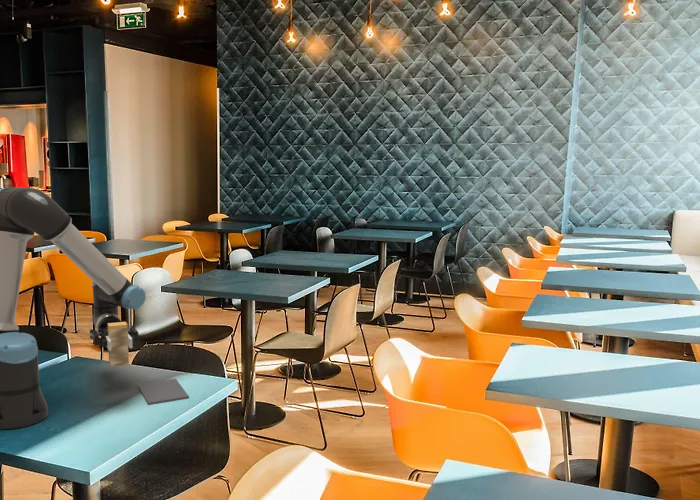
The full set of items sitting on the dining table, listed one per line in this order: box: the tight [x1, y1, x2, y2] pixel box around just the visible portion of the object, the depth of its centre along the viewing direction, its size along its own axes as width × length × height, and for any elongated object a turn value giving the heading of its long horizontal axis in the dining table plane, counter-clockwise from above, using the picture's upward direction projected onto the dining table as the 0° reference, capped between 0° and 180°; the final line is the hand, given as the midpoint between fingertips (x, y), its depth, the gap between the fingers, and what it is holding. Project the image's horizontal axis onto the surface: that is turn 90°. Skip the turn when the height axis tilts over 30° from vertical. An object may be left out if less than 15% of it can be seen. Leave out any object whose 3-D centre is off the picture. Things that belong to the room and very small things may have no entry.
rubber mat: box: [137, 378, 190, 406], centre depth 198 cm, size 12×18×1 cm, turn 28°
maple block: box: [108, 321, 130, 368], centre depth 186 cm, size 5×4×12 cm
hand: (120, 344), depth 182 cm, fingers closed on maple block, 5 cm apart
